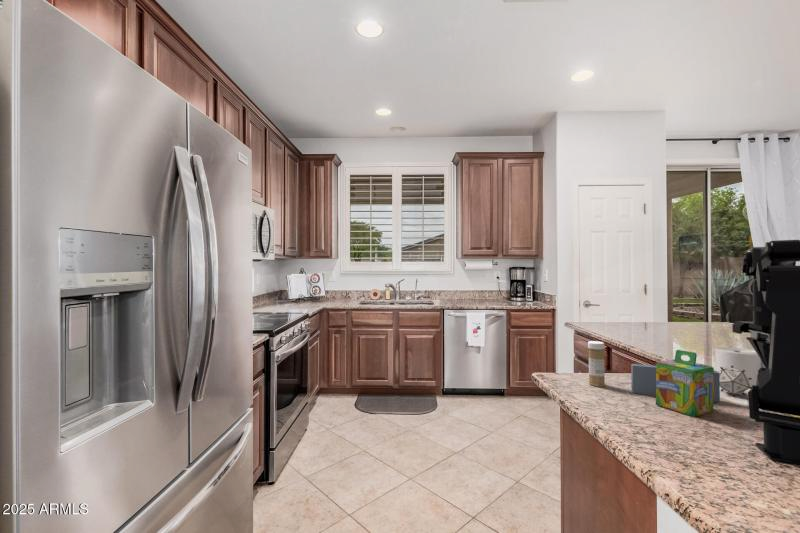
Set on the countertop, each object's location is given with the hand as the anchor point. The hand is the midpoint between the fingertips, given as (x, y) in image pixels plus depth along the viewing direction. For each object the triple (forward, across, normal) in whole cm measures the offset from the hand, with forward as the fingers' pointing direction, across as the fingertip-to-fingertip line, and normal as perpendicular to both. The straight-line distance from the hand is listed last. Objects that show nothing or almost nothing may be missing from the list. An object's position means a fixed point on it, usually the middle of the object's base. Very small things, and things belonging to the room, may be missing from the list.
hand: (771, 371), depth 82 cm
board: (+13, +19, +12) cm, 26 cm away
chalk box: (+13, +9, +13) cm, 21 cm away
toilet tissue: (+13, +40, -13) cm, 44 cm away
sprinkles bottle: (+13, +24, +31) cm, 41 cm away
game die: (+13, +26, -4) cm, 29 cm away
